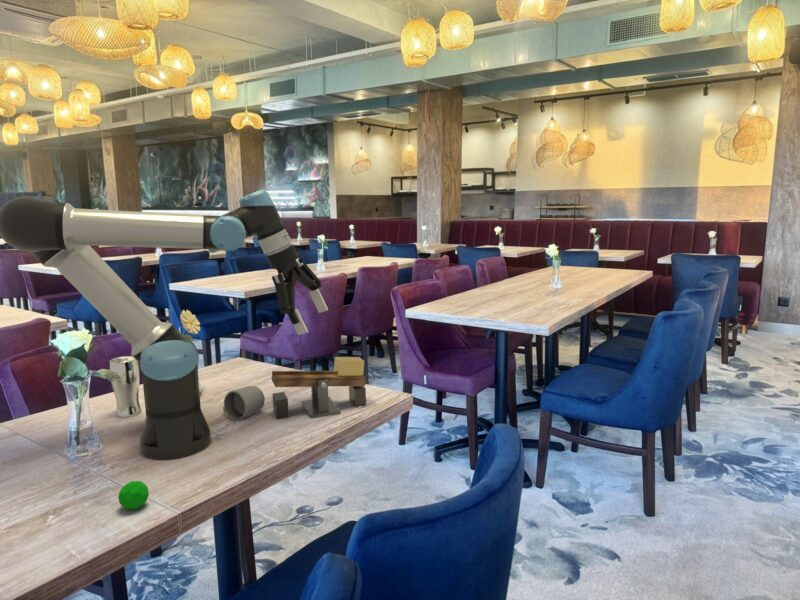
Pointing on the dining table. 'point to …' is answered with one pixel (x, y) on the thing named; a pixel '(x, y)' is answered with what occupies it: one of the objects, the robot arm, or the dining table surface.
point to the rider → (348, 367)
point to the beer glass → (126, 386)
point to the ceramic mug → (243, 402)
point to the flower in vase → (190, 327)
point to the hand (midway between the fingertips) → (313, 322)
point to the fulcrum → (318, 401)
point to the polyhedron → (133, 495)
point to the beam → (313, 379)
